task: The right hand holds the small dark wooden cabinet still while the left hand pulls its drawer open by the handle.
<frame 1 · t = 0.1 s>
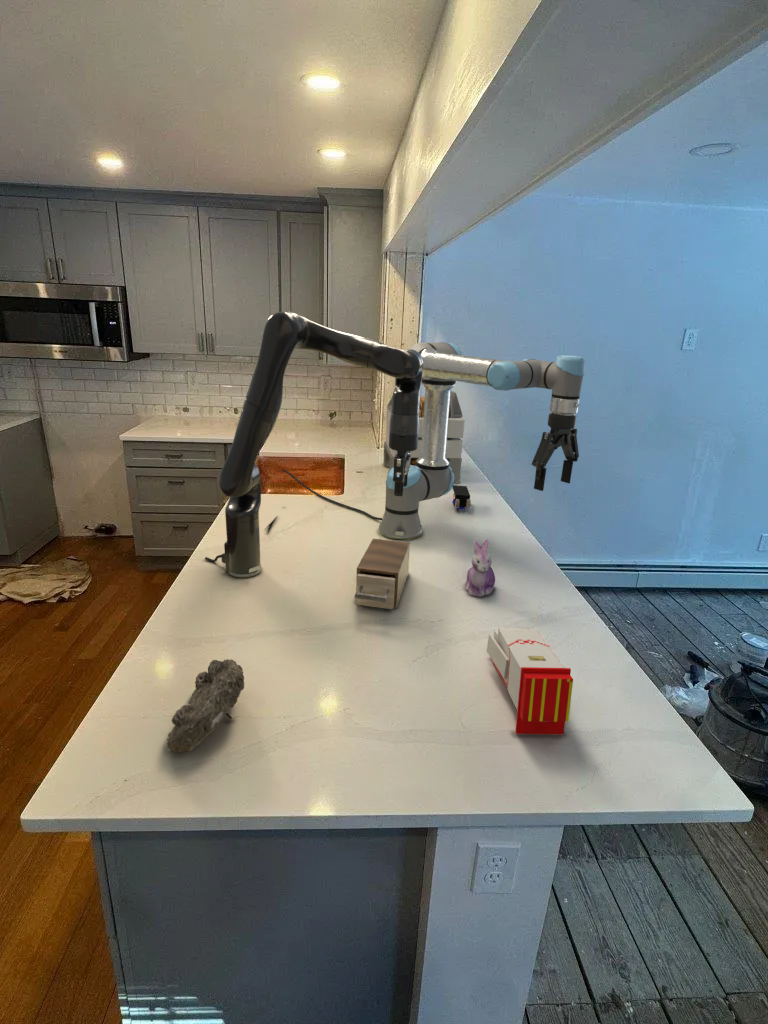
left hand: (400, 490, 151), 29 cm above the counter, tool pointing down, fingers open, 8 cm apart
right hand: (552, 485, 166), 28 cm above the counter, tool pointing down, fingers open, 13 cm apart
feather: (275, 520, 207), on the counter
drawer: (380, 580, 154), point 5 cm above the counter, slide at 1.3 cm
fossil: (212, 717, 108), on the counter
cabinet: (383, 587, 161), on the counter
white boxy container: (419, 473, 275), on the counter
toy: (520, 689, 120), on the counter
figurine: (479, 590, 162), on the counter
figurine character: (460, 507, 229), on the counter
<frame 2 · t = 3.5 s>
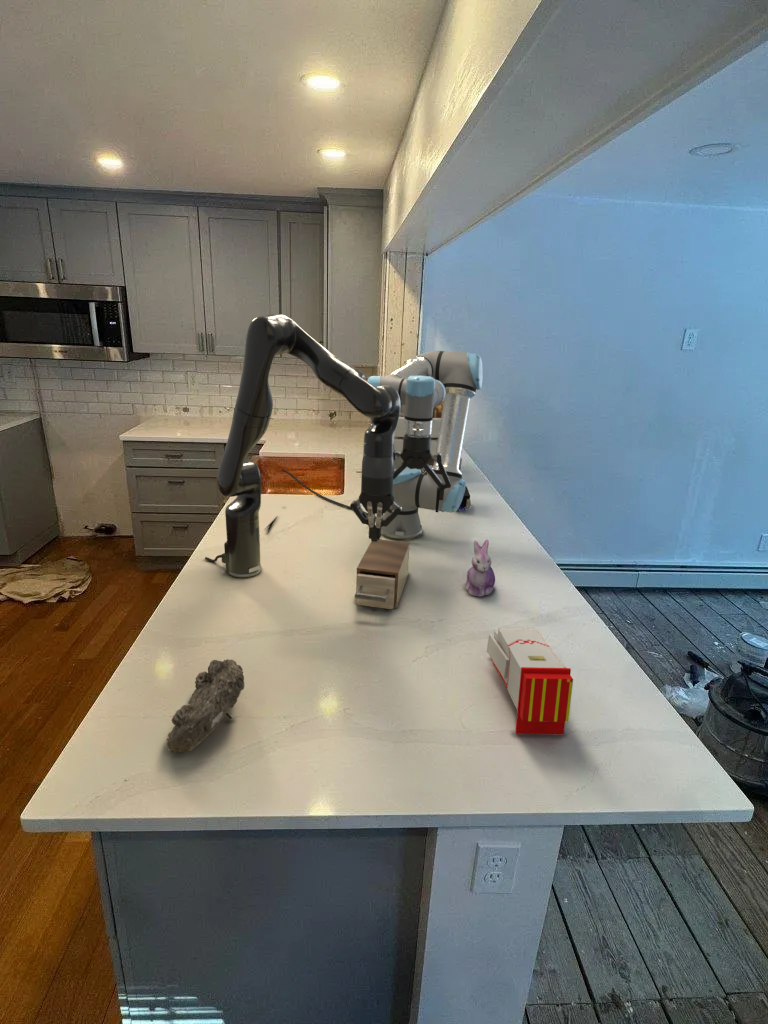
left hand: (374, 540, 139), 21 cm above the counter, tool pointing down, fingers closed
right hand: (412, 509, 160), 22 cm above the counter, tool pointing down, fingers open, 13 cm apart
nothing on the counter moved.
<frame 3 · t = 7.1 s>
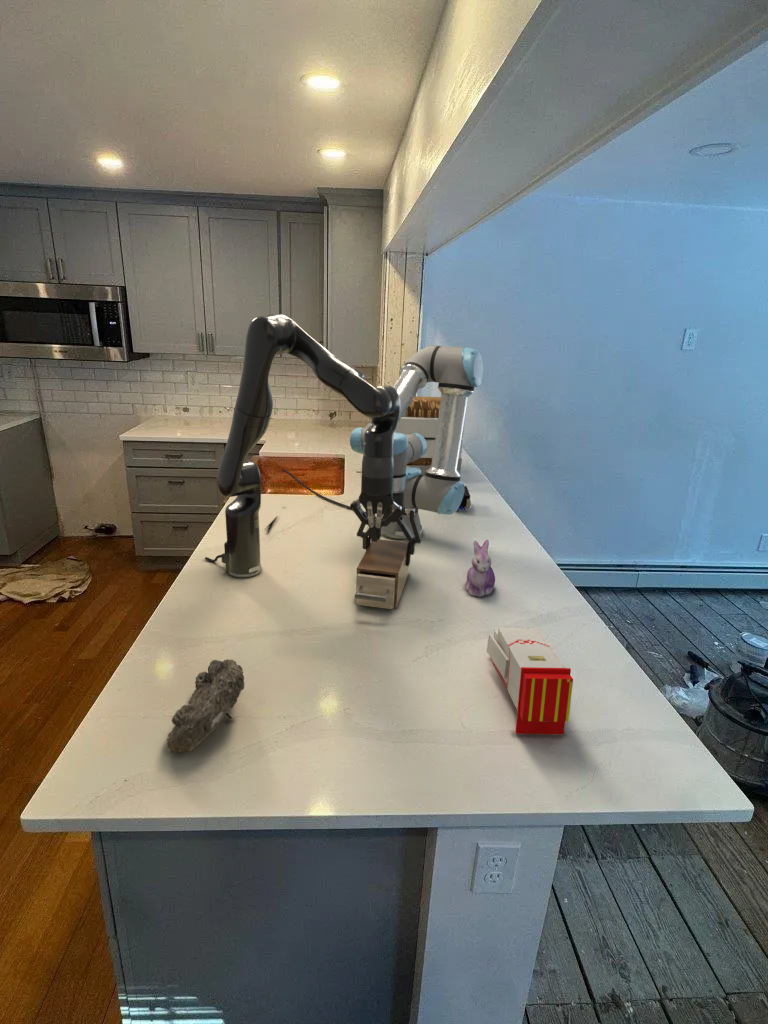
left hand: (374, 540, 139), 21 cm above the counter, tool pointing down, fingers closed
right hand: (387, 561, 164), 6 cm above the counter, tool pointing down, fingers closed on cabinet, 11 cm apart
cabinet: (383, 587, 161), on the counter, touching right hand
everything else where it was.
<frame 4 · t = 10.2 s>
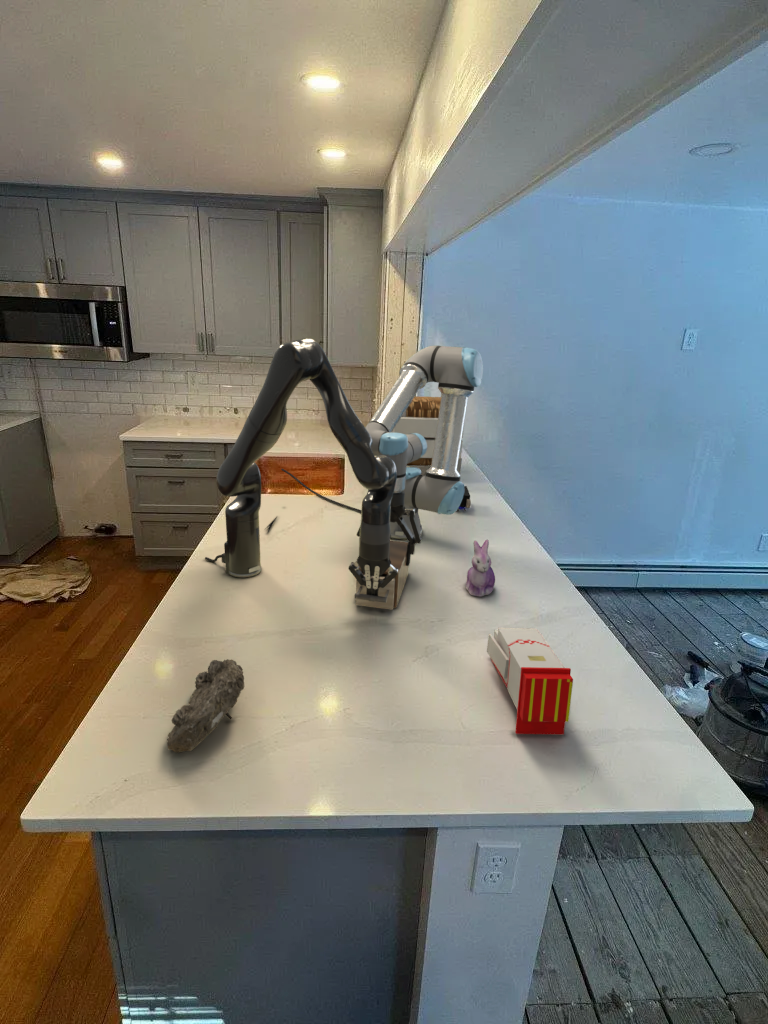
left hand: (372, 599, 144), 5 cm above the counter, tool pointing down, fingers closed
right hand: (387, 561, 164), 6 cm above the counter, tool pointing down, fingers closed on cabinet, 11 cm apart
drawer: (379, 580, 154), point 5 cm above the counter, slide at 1.6 cm, touching left hand
cabinet: (383, 587, 161), on the counter, touching right hand
everything else where it was.
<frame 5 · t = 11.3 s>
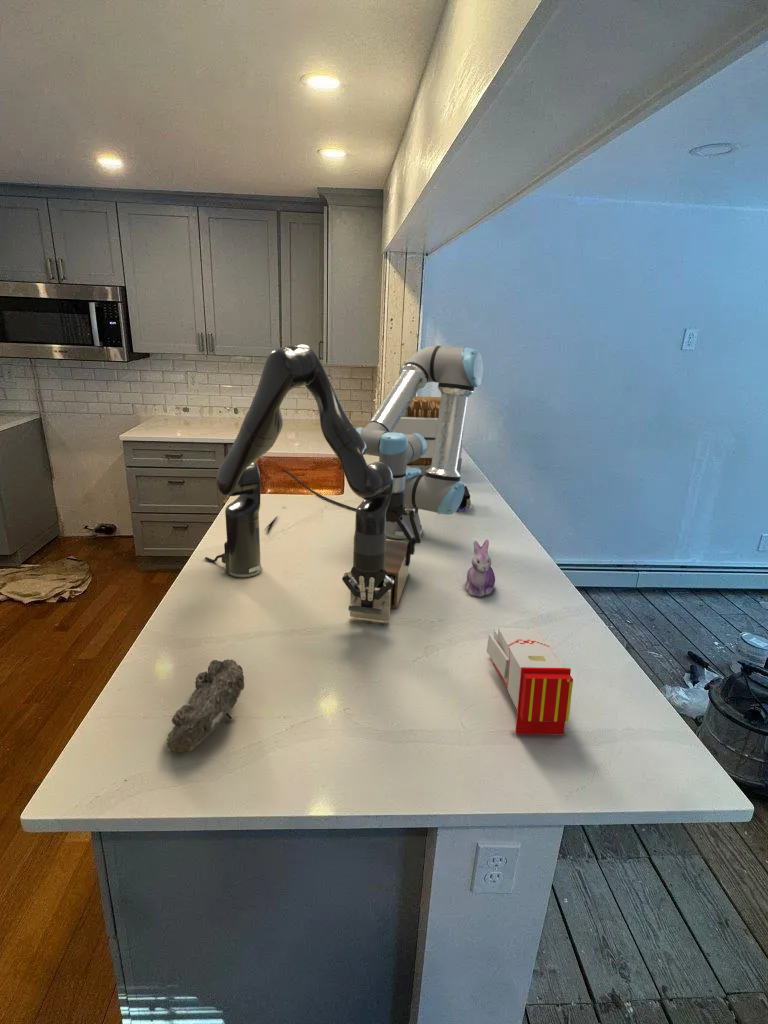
left hand: (367, 611, 138), 5 cm above the counter, tool pointing down, fingers closed
right hand: (387, 561, 164), 6 cm above the counter, tool pointing down, fingers closed on cabinet, 11 cm apart
drawer: (375, 591, 148), point 5 cm above the counter, slide at 7.6 cm, touching left hand
cabinet: (383, 587, 161), on the counter, touching right hand
everything else where it was.
when the right hand's fingers open (6 cm above the counter, at t = 12.9 s): cabinet stays where it is, on the counter.
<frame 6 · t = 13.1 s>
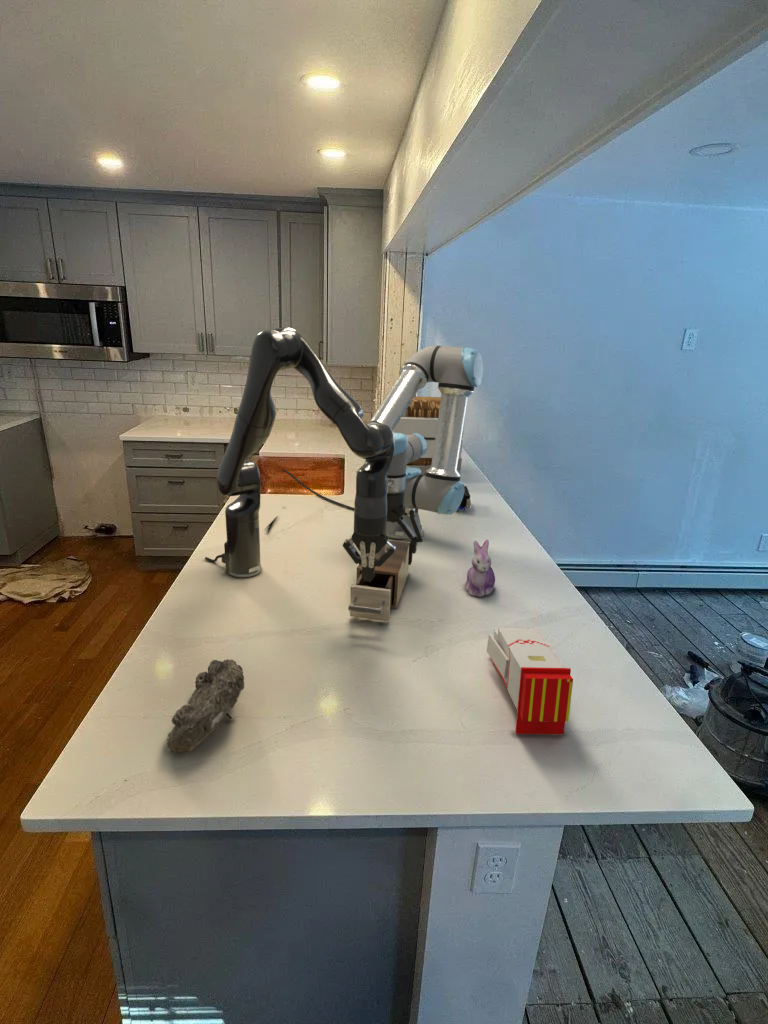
left hand: (368, 579, 135), 14 cm above the counter, tool pointing down, fingers closed
right hand: (387, 560, 164), 6 cm above the counter, tool pointing down, fingers open, 12 cm apart
drawer: (375, 591, 148), point 5 cm above the counter, slide at 7.7 cm
cabinet: (383, 587, 161), on the counter
everything else where it was.
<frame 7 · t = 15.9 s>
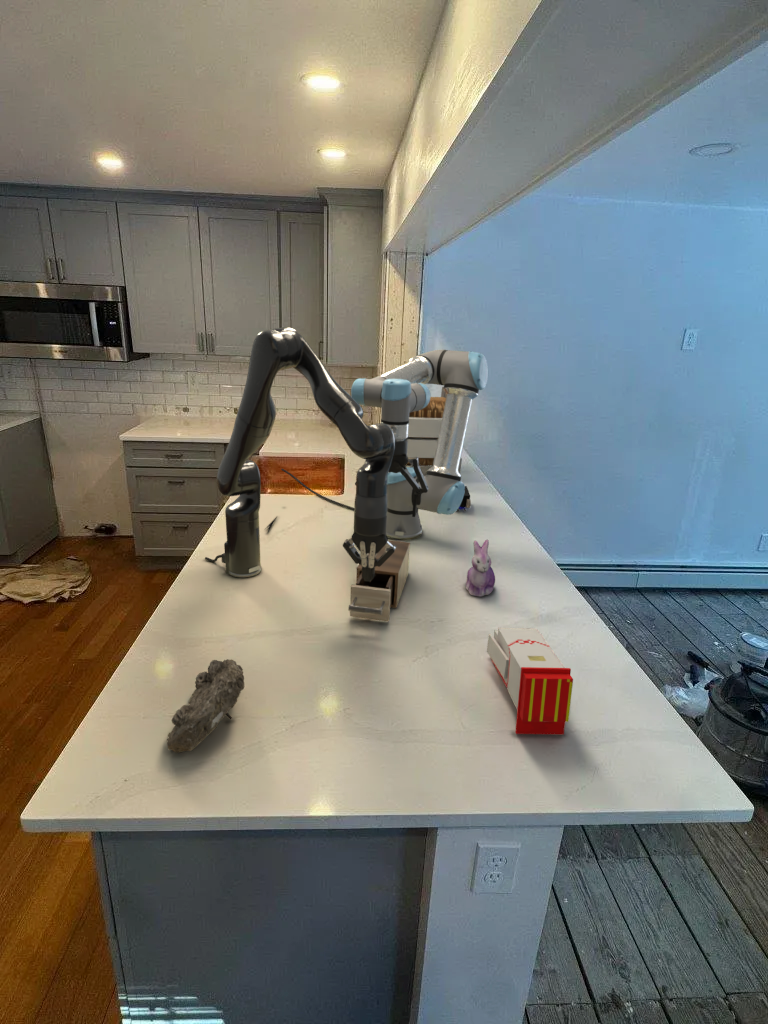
left hand: (368, 579, 135), 14 cm above the counter, tool pointing down, fingers closed
right hand: (390, 512, 159), 21 cm above the counter, tool pointing down, fingers open, 13 cm apart
nothing on the counter moved.
at the end: drawer slide at 7.7 cm; cabinet tilted 0°; cabinet never tilted more than 1° during the clip; cabinet moved 0.0 cm from its start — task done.
